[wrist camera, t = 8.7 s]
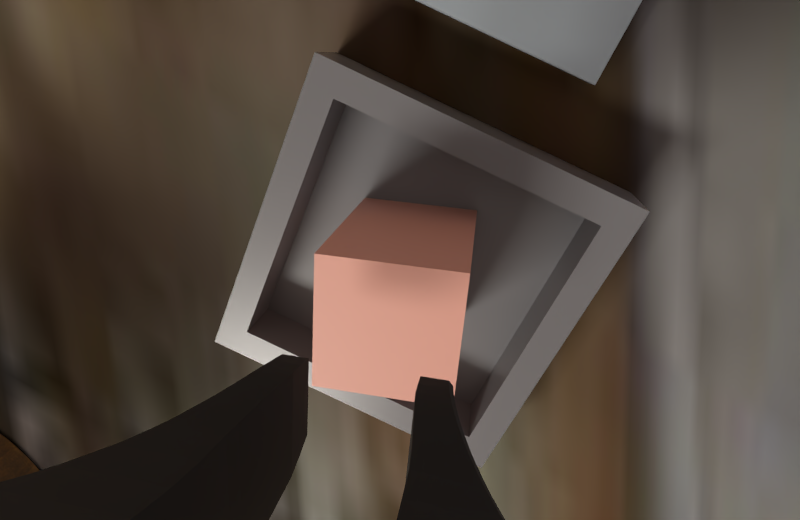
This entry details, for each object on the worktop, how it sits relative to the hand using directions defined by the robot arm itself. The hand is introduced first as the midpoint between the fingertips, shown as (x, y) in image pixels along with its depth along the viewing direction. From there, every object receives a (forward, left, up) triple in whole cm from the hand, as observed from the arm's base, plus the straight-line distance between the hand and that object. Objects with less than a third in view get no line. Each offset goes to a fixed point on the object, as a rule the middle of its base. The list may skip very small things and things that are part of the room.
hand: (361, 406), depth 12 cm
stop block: (0, 0, -9) cm, 9 cm away
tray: (0, 0, -9) cm, 9 cm away
